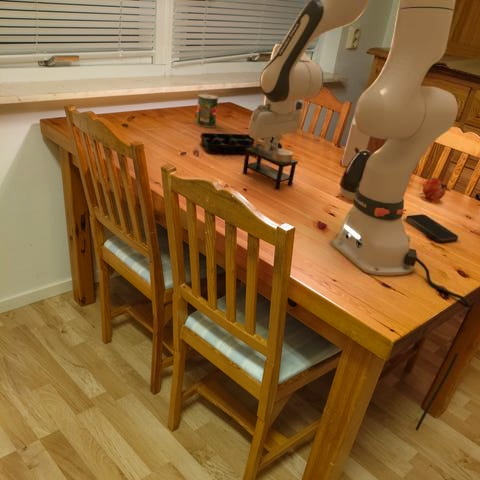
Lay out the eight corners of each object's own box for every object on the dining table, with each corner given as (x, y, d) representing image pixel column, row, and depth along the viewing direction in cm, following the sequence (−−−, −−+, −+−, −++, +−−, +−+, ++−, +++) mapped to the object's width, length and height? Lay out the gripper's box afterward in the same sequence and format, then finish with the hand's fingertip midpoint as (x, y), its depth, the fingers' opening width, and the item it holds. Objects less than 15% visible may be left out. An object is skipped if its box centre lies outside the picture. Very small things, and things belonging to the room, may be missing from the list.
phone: (439, 239, 134) (405, 215, 144) (438, 243, 135) (403, 219, 145) (460, 237, 137) (424, 214, 147) (458, 240, 138) (423, 217, 148)
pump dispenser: (357, 191, 159) (370, 144, 150) (374, 204, 152) (389, 156, 143) (330, 191, 156) (342, 144, 147) (347, 205, 148) (361, 156, 139)
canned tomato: (194, 121, 199) (196, 92, 193) (212, 122, 202) (215, 93, 195) (198, 127, 194) (200, 97, 187) (217, 127, 196) (220, 99, 189)
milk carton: (360, 169, 177) (375, 115, 166) (341, 166, 178) (355, 112, 166) (360, 163, 183) (375, 111, 171) (342, 160, 183) (355, 107, 172)
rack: (292, 185, 156) (297, 161, 151) (277, 190, 151) (282, 165, 146) (257, 168, 164) (260, 145, 159) (241, 172, 159) (244, 148, 154)
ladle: (295, 161, 151) (296, 151, 149) (282, 164, 147) (284, 154, 145) (260, 146, 158) (261, 136, 156) (247, 148, 154) (249, 139, 153)
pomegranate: (413, 203, 163) (437, 196, 154) (412, 182, 163) (436, 173, 154) (429, 204, 166) (453, 197, 157) (428, 183, 166) (452, 175, 157)
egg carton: (286, 155, 179) (288, 145, 177) (215, 160, 165) (216, 149, 163) (262, 140, 191) (263, 130, 188) (193, 143, 177) (194, 132, 174)
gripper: (262, 108, 136) (255, 157, 144) (307, 103, 148) (298, 148, 156) (246, 102, 139) (240, 150, 147) (291, 97, 151) (283, 142, 160)
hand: (270, 149), depth 152 cm, fingers closed on ladle
